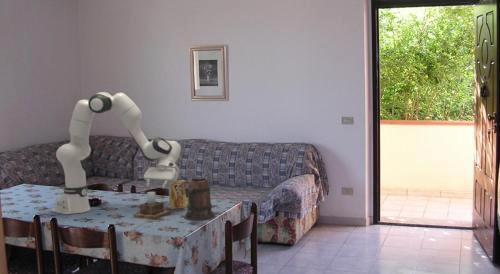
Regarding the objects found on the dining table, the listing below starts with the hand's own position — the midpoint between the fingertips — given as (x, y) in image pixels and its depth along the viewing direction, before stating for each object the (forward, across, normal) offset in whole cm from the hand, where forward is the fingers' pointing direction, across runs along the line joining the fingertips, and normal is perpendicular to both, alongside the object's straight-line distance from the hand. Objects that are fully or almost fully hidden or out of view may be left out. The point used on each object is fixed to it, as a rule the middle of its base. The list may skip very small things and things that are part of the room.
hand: (155, 187), depth 300 cm
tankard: (+11, +27, +10) cm, 30 cm away
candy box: (-1, +3, +22) cm, 22 cm away
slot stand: (+13, 0, +8) cm, 15 cm away
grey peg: (+12, 0, +7) cm, 14 cm away
